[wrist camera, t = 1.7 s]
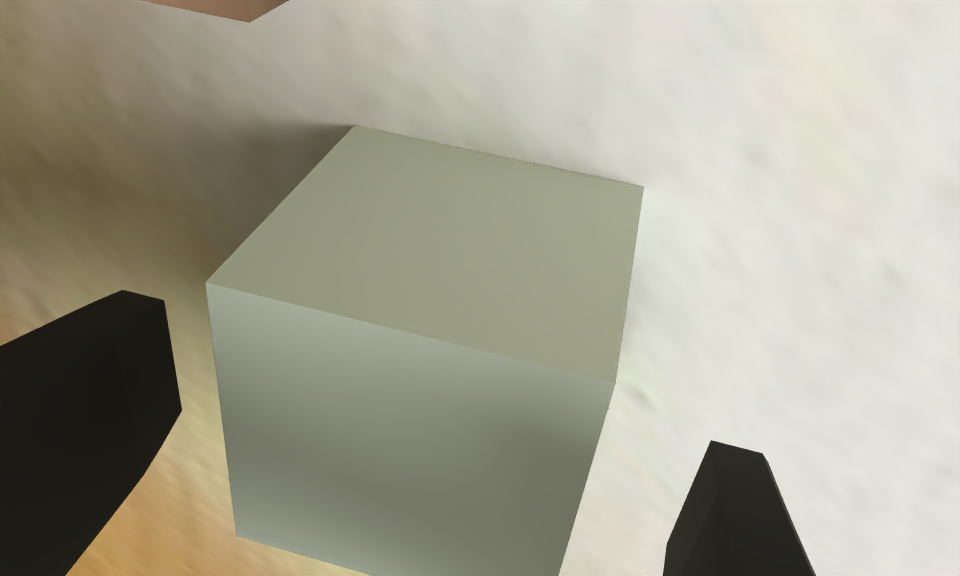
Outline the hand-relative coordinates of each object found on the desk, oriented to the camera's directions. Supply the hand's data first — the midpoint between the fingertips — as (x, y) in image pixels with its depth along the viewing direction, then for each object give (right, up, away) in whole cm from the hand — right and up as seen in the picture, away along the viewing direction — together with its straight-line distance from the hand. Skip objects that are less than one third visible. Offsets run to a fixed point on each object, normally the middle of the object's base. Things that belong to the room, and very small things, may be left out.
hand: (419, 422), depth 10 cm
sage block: (+1, +2, +3) cm, 4 cm away
